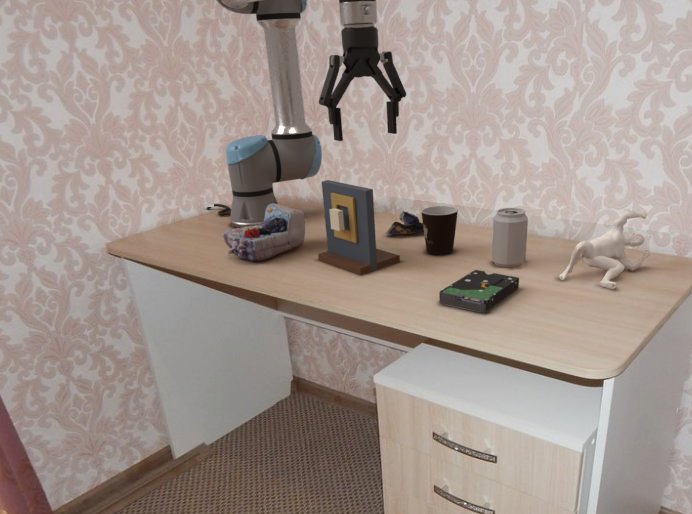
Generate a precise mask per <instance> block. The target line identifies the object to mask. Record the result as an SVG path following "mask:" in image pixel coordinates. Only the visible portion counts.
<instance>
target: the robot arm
mask: <svg viewBox="0 0 692 514" xmlns="http://www.w3.org/2000/svg"><path fill="white" fill-rule="evenodd" d="M216 2H217V3H218V4H219V5H220V7H223V8H224V9H226V10H228V11H230V12H233V13H236V14H241V15H255V17H256V18H255V19H256V23H257V24H258V25H259V26H260V27H261V28H262V29H263V34H264V42H265V51H266V59H267V67H268V75H269V82H270V89H271V98H272V107H273V114H274V115H273V116H274V122H275V126H274V127H273V129H272V130H271V131H270V133H271V139H268V138H267V137H266V135H263V134H262V135H261V134H258V135H257V134H256V135H250V136H246V137H241V138H238V139H235V140H233V141H231V142H229V143H228V144H227V146H226V148H225V155H226V164H227V168H228V175H229V181H230V186H231V187H230V188H231V192H232V203H231V208H230V206H229V205H226V204H222V203H213V204H214V207H208V206H207V207H206V210H207V211H208V210H211V208H216V207H217V208H222V209H221V210H218V212H217V215H218V216H230V217H229V221H230V226H231V227H233V228H235V229H237V228H242V227H249V226H257V225H262V224H263V222H264V219H265V211H266V208H267V206H268V205H270V204H279V203H278V201H277V198H276V195H275V191H274V185H273V184H276V183H283V182H289V181H296V180H305V179H307V178H308V179H309V178H313V177H315V176H316V175H317V174H318V173H319V171H320V169H321V167H322V159H323V151H322V145H321V141H320V139H319V137H318V136H317V135H316V134H314V133H313V129H312V128H311V127H310V126H309V125H308V124H307V119H306V112H305V111H306V109H305V100H304V91H303V90H304V89H303V81H302V72H301V71H302V70H301V61H300V52H299V51H300V50H299V42H298V34H297V33H298V31H297V26H298V25H299V24H300V22H301V21H302V16H301V14H303V13H304V12H305V11H306V9H307V5H308V0H216ZM338 3H339V4H338V5H339V17H340V18H339V19H340V20H339V21H340V26H343V28H342V29H341V47H342V51H343V52H342V55H338V54H330V55H329V57H328V58H329V59H328V70H327V73H326V75H325V80H324V83H323V86H322V89H321V92H320V96H319V99H318V104H319V105H320V106H324V107H326V108H327V113H328V123H329V124H330V125H332V129H333V131H332V132H333V140H334V141H338V142H343V141H344V136H343V123H342V112H341V109H342V108H341V107H337V106H338V105H339V103H340V102H341V100H342V98H343V97H344V94H345V93H346V92H347V89H348V88H349V86H350V84H351V82H352V81H353V80H354V79H355V78H363V77H366V78H368V77H371V78H373V79H374V81H375V82H376V84H377V85H378V86H379V88H380V89H381V90H382V92H383V93H384V94H385V95H386V97H387V98H388V99H389V100H390V101H386V122H387V125H386V126H387V133H388V134H393V135H397V134H398V129H397V127H398V124H397V118H398V117H399V116H400V103H399V102H401V101H402V99H403V98H406V97H407V92H406V89H405V87H404V85H403V82H402V80H401V77H400V75H399V73H398V71H397V69H396V66H395V64H394V59H393V53H392V51H390V50H389V51H388V50H387V51H382V52H379V45H380V44H379V29H378V28H377V26H375V25H376V24H378V9H377V8H378V7H377V0H338ZM379 63H381V64H382V66H383V69H384V71H385V73H386V75H387V78H388V79H387V78H386V77H385V76H384V74H383V71H382V69H381V68H380V67H379V66H378V65H379ZM342 65H343V66H344V68H345V69H344V70H343V72H342V75H341V78H340V80H339V81H338V82H337V78H338V75H339V72H340V68H341V67H342ZM388 80H389V81H388ZM336 82H337V85H336Z"/></svg>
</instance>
